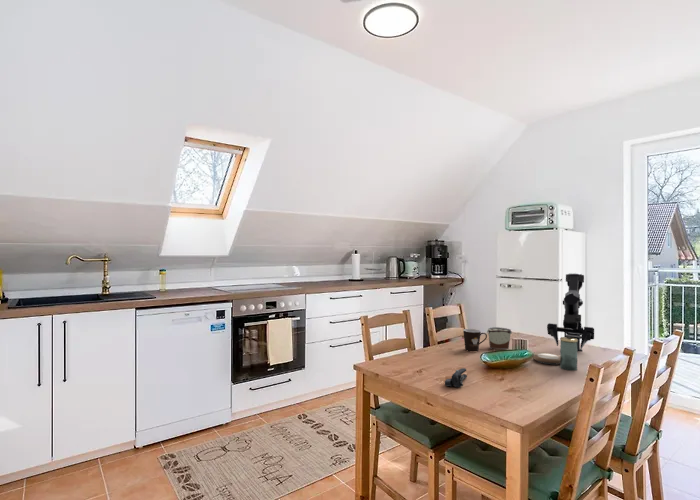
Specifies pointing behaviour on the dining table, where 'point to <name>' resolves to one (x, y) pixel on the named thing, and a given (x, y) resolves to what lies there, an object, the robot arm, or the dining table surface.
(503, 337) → the food container
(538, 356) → the turntable
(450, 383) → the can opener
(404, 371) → the dining table surface
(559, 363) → the turntable base
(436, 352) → the dining table surface
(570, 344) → the tea tin
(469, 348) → the coffee mug
